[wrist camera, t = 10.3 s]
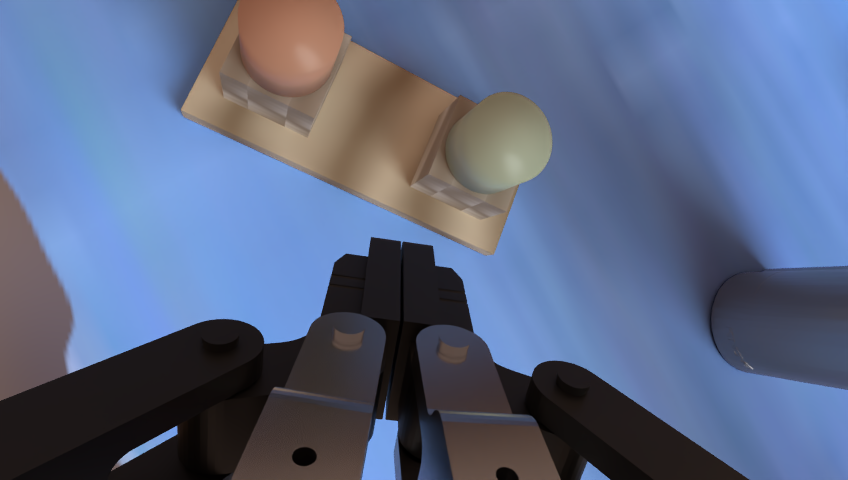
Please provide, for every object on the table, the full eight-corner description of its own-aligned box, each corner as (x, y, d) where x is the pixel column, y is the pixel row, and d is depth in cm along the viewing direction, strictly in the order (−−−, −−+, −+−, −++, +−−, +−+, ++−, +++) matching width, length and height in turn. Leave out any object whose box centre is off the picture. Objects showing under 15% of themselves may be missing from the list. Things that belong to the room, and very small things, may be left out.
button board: (526, 144, 44) (566, 122, 38) (485, 255, 42) (521, 250, 36) (246, -5, 38) (244, -56, 33) (183, 116, 36) (170, 85, 31)
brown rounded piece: (341, 55, 37) (359, 4, 30) (308, 126, 35) (320, 90, 29) (263, 13, 35) (264, -48, 29) (226, 86, 34) (219, 39, 28)
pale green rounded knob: (514, 145, 40) (563, 118, 33) (488, 213, 39) (535, 198, 32) (448, 111, 39) (487, 75, 32) (420, 180, 37) (454, 158, 31)
